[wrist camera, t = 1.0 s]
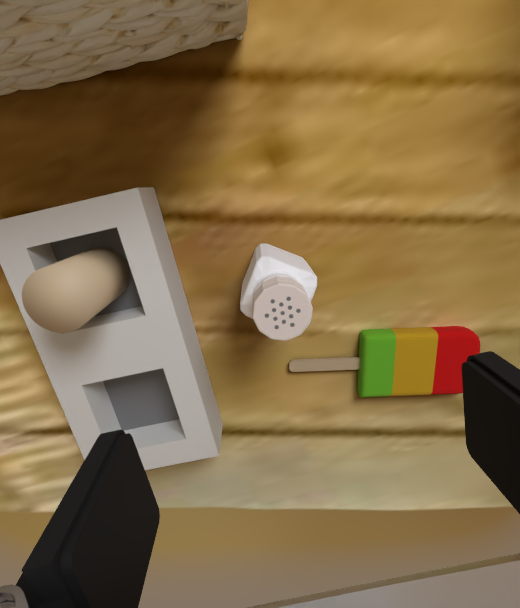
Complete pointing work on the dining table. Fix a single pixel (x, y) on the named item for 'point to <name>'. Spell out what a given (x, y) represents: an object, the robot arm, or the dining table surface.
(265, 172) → the dining table surface
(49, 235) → the block
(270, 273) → the pepper shaker
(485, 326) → the dining table surface
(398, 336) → the popsicle
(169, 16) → the storage basket
